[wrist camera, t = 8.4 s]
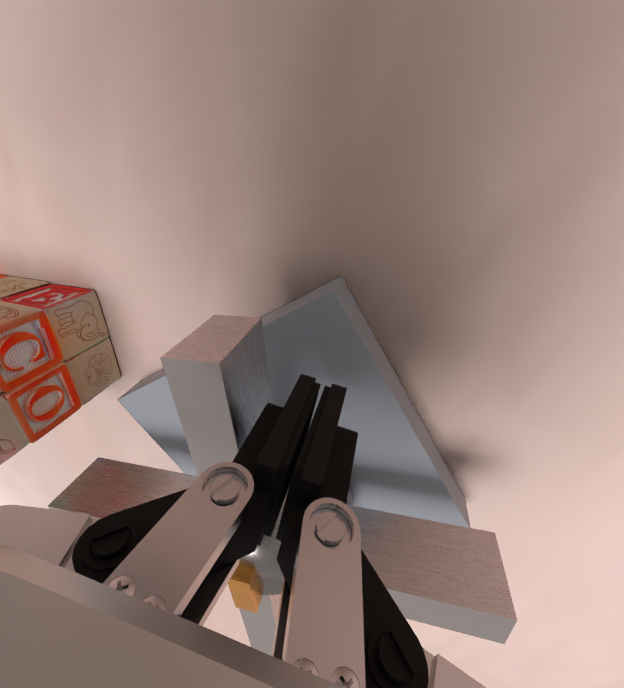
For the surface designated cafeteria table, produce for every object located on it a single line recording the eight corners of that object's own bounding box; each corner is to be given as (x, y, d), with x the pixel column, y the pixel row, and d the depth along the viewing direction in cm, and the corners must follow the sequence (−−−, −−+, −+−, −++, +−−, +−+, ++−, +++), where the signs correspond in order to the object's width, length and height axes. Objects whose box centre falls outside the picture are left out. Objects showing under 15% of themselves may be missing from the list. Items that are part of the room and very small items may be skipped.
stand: (341, 275, 14) (332, 292, 12) (465, 499, 19) (472, 536, 17) (140, 380, 21) (114, 401, 19) (269, 528, 25) (258, 557, 23)
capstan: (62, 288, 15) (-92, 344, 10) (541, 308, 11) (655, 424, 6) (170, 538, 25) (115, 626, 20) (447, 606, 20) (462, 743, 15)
